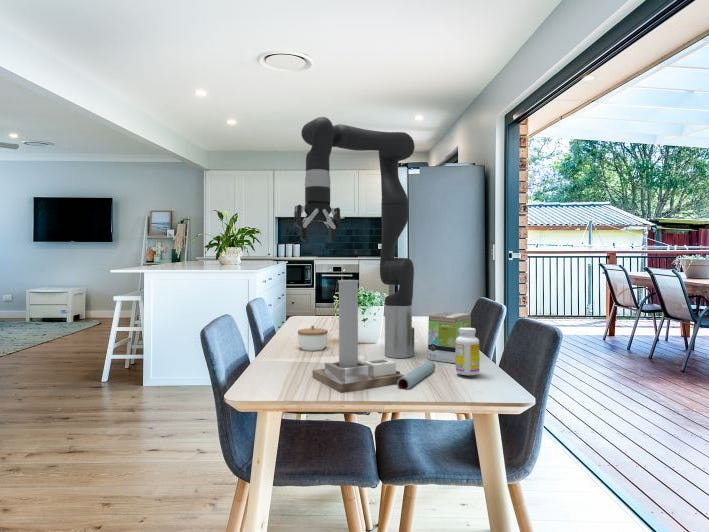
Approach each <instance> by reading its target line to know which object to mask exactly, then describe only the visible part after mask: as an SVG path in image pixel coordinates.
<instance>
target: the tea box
mask: <svg viewBox="0 0 709 532" xmlns="http://www.w3.org/2000/svg"><path fill="white" fill-rule="evenodd" d="M471 324H472V314H471V313H462V312H461V313H460V312H441V313H435V314H431V315H428V326H427V327H428V333H427V335H428V336H427V361H433V362H434V361H436V362H443V363H453V364H456V338H457V337H459V336H460V334H459V328H472V327H471V326H472V325H471Z"/></svg>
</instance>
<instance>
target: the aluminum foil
mask: <svg viewBox="0 0 709 532" xmlns="http://www.w3.org/2000/svg"><path fill="white" fill-rule="evenodd" d="M436 368H437V367H436V364H435V363H434V361H433V360H426V361H425V362H424V363H421V365H419V366H416V368H414V369H413V370H411V371H409V372H407V373H406V374H403V375H404V376H403V377H401V378H399V379H398V381H397V384H396V385H397V388H398V389H399V390H400V389H401V390H406V391H408V390H409V389H411V388H412V387H413V386H415V385H416V384H418V383H419V382H421V381H422V380H424V379H425V378H426V377H427V376H429V375H430V374H431V373H434V371H435V370H436Z"/></svg>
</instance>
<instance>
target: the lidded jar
mask: <svg viewBox="0 0 709 532" xmlns="http://www.w3.org/2000/svg"><path fill="white" fill-rule="evenodd" d="M310 327H311V328H300V329H298V330H297V339H298V340H297V341H298V346H299V347H300V348H301V350H303V351H306V352H307V351H309V352H318V351H322V350H324V349H325V347H326V346H327V341H328V329H326V328H318V327H315V325H311V326H310Z"/></svg>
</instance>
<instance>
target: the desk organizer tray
mask: <svg viewBox="0 0 709 532" xmlns="http://www.w3.org/2000/svg"><path fill="white" fill-rule="evenodd" d="M404 375H405V374H404V373H401V372H400V371H399V370H396V374H391V375H384V376H377V377H373V375H372V366H371V365H369V364H366V363H364V361H361V360H358V367H350V368H341V367H339V360H338V361H331V362H330V361H329V362H324V368H319V369H312V378H313V379H314V380H317V381H319V382H321V383H322V384H324V385H326V386H328V387H329V388H332V389H333V390H335V391H337V392H339V393H347V392H353V391H361V390H365V389H372V388H378V387H386V386H391V385H397V381H398V379H399V378H401V377H403V376H404Z"/></svg>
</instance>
